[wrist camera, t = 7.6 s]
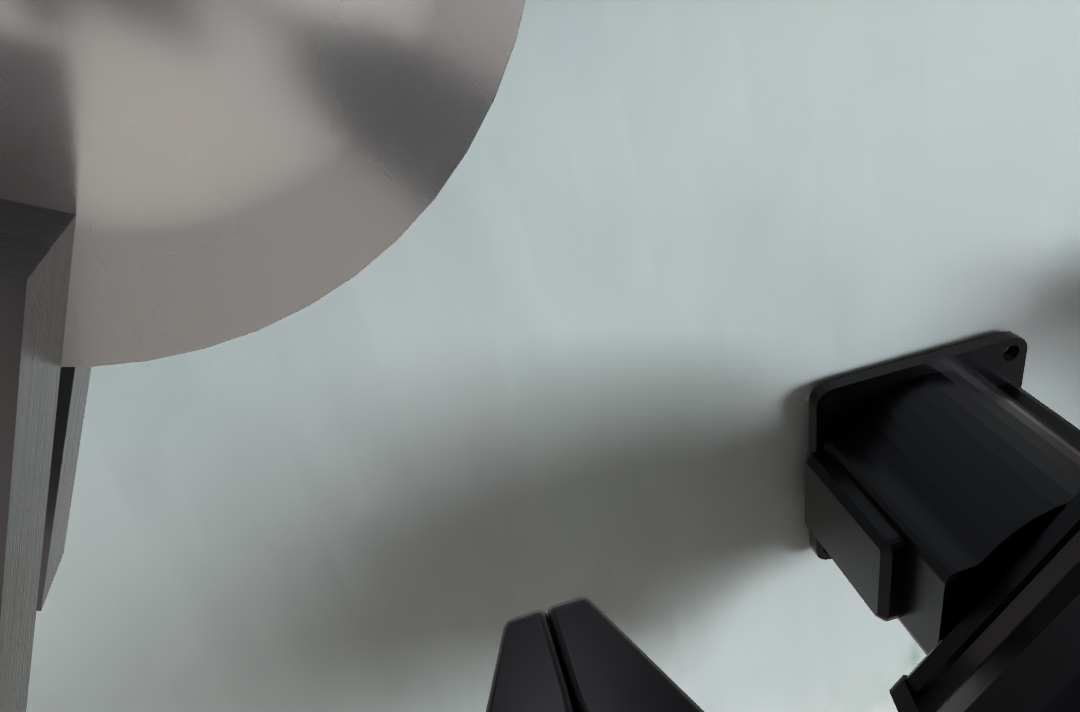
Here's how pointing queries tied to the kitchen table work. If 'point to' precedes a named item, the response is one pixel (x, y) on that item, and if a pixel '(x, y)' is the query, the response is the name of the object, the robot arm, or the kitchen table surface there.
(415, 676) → the kitchen table surface
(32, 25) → the lid
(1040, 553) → the robot arm
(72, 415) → the pot
